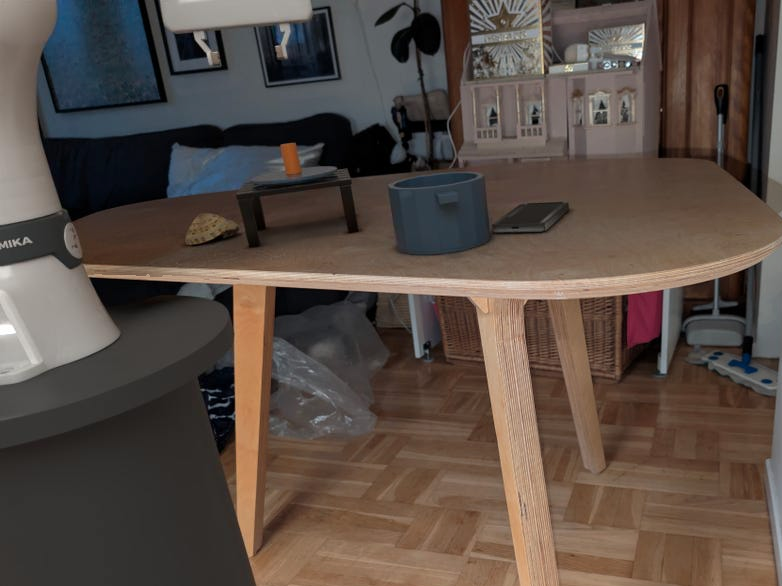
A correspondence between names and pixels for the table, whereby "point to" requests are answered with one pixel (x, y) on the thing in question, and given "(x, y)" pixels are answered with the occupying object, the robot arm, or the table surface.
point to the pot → (440, 212)
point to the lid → (292, 170)
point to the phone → (530, 217)
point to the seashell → (209, 228)
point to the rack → (253, 192)
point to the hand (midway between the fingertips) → (249, 62)
